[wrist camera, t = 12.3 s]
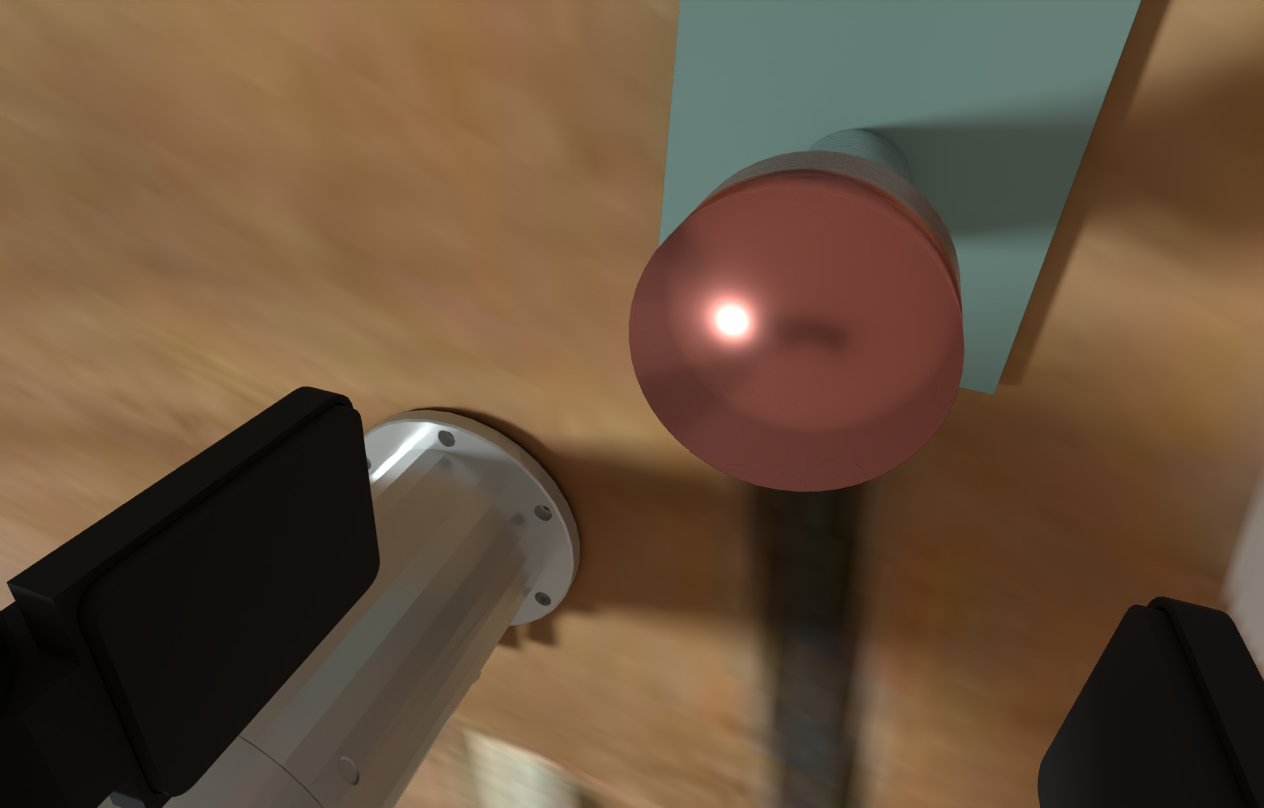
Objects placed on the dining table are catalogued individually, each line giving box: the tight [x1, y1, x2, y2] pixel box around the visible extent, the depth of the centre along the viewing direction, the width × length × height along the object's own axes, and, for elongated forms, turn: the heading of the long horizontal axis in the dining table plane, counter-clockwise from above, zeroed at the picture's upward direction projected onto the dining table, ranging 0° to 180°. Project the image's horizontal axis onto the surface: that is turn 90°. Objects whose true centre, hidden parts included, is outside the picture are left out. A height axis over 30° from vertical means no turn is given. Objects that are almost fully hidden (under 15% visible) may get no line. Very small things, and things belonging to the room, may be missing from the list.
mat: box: [659, 0, 1141, 395], centre depth 24 cm, size 12×12×1 cm
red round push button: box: [629, 129, 965, 492], centre depth 18 cm, size 6×6×12 cm
